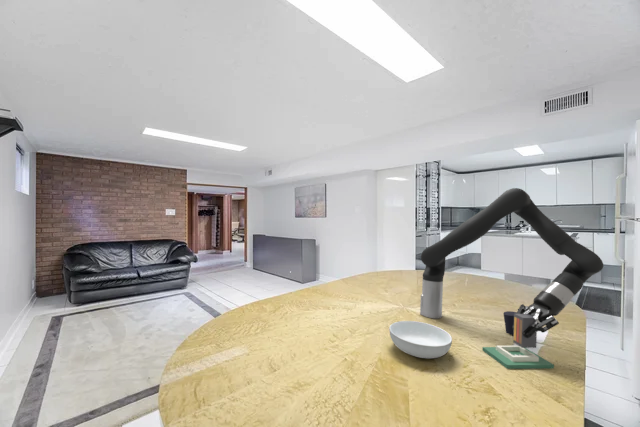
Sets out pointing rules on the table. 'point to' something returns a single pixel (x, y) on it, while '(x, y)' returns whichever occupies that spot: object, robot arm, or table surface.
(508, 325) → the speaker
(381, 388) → the table surface
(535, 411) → the table surface
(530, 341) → the gray rectangular block
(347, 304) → the table surface
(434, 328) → the serving bowl
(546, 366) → the board
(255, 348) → the table surface
